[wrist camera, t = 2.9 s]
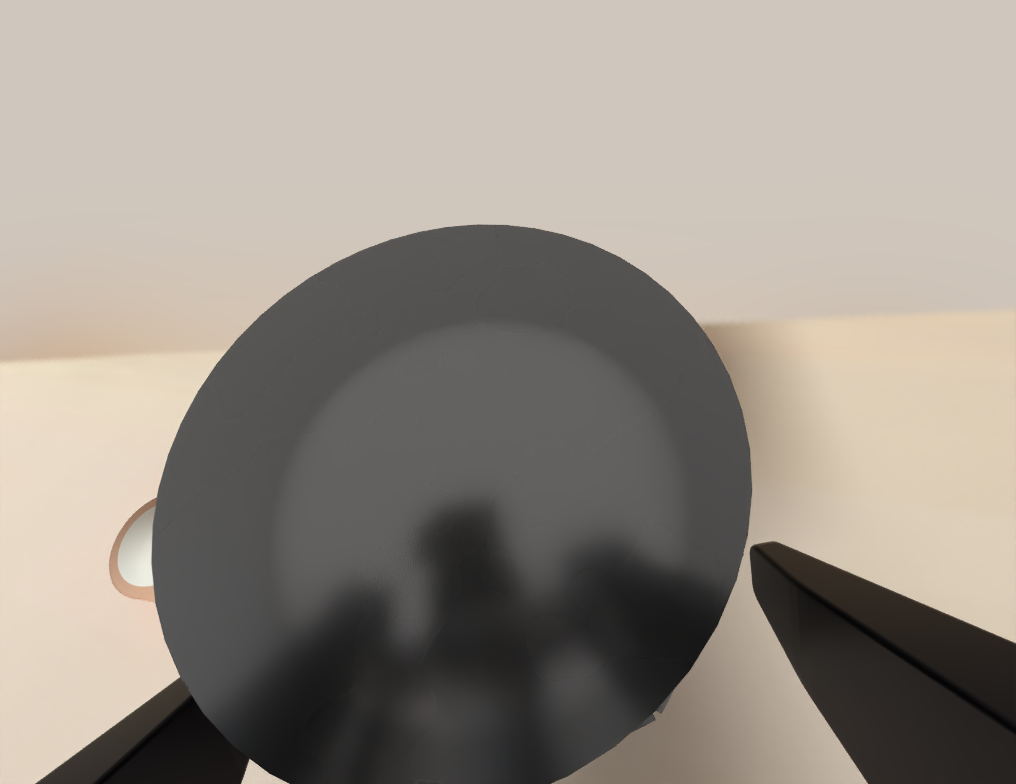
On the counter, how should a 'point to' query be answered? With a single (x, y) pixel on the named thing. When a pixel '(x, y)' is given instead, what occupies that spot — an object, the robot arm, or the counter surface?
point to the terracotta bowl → (134, 555)
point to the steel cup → (452, 514)
